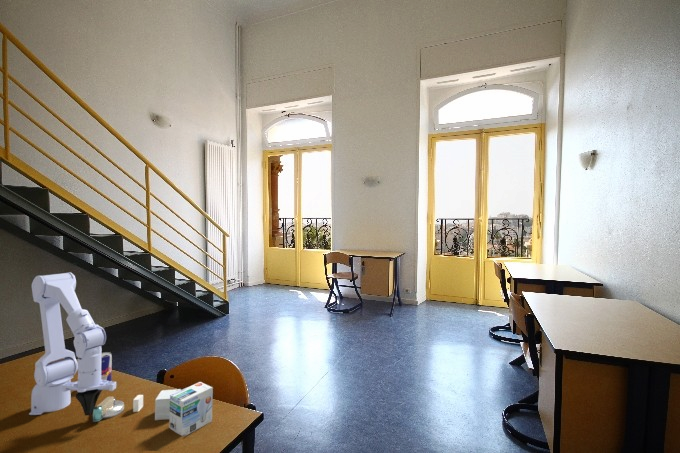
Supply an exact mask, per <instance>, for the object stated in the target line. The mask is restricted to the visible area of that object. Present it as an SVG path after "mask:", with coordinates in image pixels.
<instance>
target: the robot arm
mask: <svg viewBox="0 0 680 453" xmlns="http://www.w3.org/2000/svg"><path fill="white" fill-rule="evenodd" d="M76 287H77V280H76V275H75V274H74V273H72V272H71V271H70V272H69V271H68V272H64V273H63V272H62V273H54V274H53V273H52V274H46V275H45V274H43V275H36V276H35V277H34V278H33V280H32V282H31V291H32V299H33V302H34V303H38V304H39V310H40V317H41V318H40V319H41V325H42V326H41V328H42V334H43V345H44V354H42V356H40V358H39V359H38V360H37V361H35V365H34V368H35V369H34V374H33V375H34V377H33V378H34V380H35V383H36V384H35V385H34V387H33V388H32V390H31V395H30V396H31V401H30V402H31V403H30V407H31V409H30V412H29V413H28V415H30V416H40V415H41V416H42V414H43V413H51V412H57V411H59V410H63V409H65V408H66V407H68V406H70V405H71V402H72V400H71V398H72V396H71V391H77V393H76V394H75V395H74V396H75V399H76V400H77V401H78V402H79V404H80V405H81V407H82V410H83V413H84V415H85V416H91V415H93V408H94V407H96V406H97V402H98V399H99V397H100V395H101V393H102V392H103V391H105V390H106V391H109V392H113V391H114V390H116V389H117V381H107V380H101V354H102V353H103V352H102V351H103V350H102V346H104V345H105V344H106V342H107V334H106V331H105V328H104V327H102V326H100V325H99V324H96V323H95V321H94V319H93V317H92V316H91V314H90V312H89V310H88V309H83V308H82V306H81V304H80V301H79V299H78V296H77V294H76V291H75V290H76ZM60 305H61V306H62V308H63V309H64V310H65V312H66V314H67V317H66V320H65V321H66V322H67V324H68V327H69V328H70V330H71V333H72V334H73V336H74V339H73V346H74V349H75V352H74V351H72V350H69V349H66V345H65V337H64V330H63V329H64V328H63V323H62V320H63V319H62V313H61V306H60ZM76 358H77V359H76ZM76 374H77V381H72V379H74V376H75V375H76Z"/></svg>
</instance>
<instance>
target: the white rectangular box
mask: <svg viewBox="0 0 680 453" xmlns="http://www.w3.org/2000/svg"><path fill="white" fill-rule="evenodd" d="M132 401H133V402H132V407H133V408H132V412H133V413H137V412H140V410H142V409H143V407H144V394H137V395H136V396H135V397H134V398H133V400H132Z"/></svg>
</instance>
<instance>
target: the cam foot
mask: <svg viewBox="0 0 680 453" xmlns="http://www.w3.org/2000/svg"><path fill="white" fill-rule="evenodd" d="M124 410H125V402H124V401H122V400H119V399H118V400H116V397H115V396H106V397H105V398H104V399H103V400H102V401H101V402H100V403H99V404H96V405H95V407H94V408H93V413H92V422H94V423H96V422H100V421H101V420H106V419H110V418H113V417H116V416H118V415H120V414H121V413H122V412H123V411H124Z"/></svg>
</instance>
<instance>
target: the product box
mask: <svg viewBox="0 0 680 453" xmlns="http://www.w3.org/2000/svg"><path fill="white" fill-rule="evenodd" d="M181 390H182V389H181V388H178V389H163V390H161V391H160V392H159V394H158V395H157V396H156V398H155V400H154V402H155V403H154V421H160V420H170V395H171V394H174V393H176V392H178V391H181Z"/></svg>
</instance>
